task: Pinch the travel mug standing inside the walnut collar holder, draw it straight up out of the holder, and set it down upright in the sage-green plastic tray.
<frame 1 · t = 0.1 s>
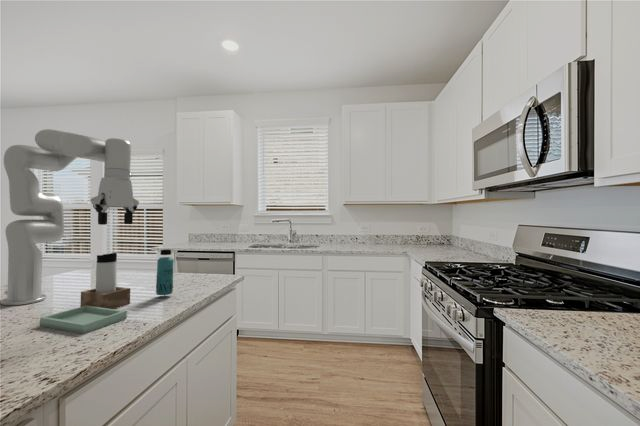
hand: (115, 224, 107), 31 cm above the worktop, tool pointing down, fingers open, 9 cm apart
tray: (85, 322, 98), on the worktop
collar holder: (105, 306, 115), on the worktop
travel mug: (105, 306, 115), resting in collar holder
beverage bottle: (164, 297, 130), on the worktop
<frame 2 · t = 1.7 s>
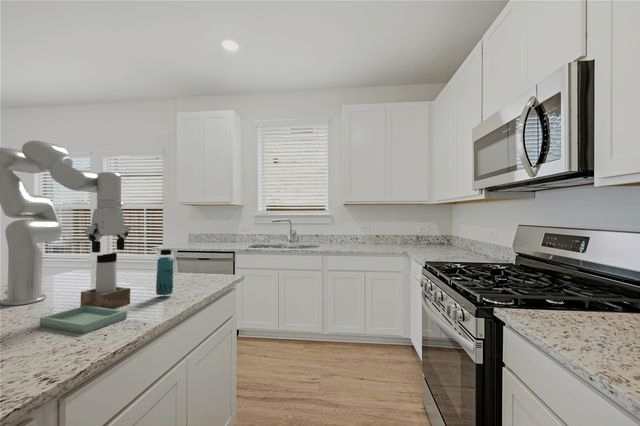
hand: (108, 250, 115), 21 cm above the worktop, tool pointing down, fingers open, 9 cm apart
nothing on the worktop moved.
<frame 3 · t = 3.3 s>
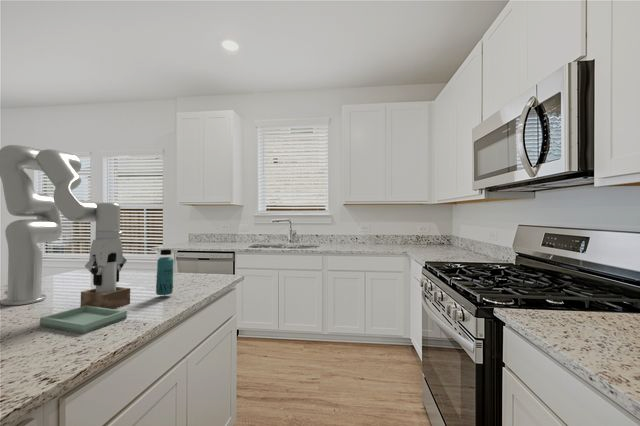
hand: (106, 282, 115), 9 cm above the worktop, tool pointing down, fingers closed on travel mug, 6 cm apart
travel mug: (105, 306, 115), resting in collar holder, touching gripper
everything else where it was.
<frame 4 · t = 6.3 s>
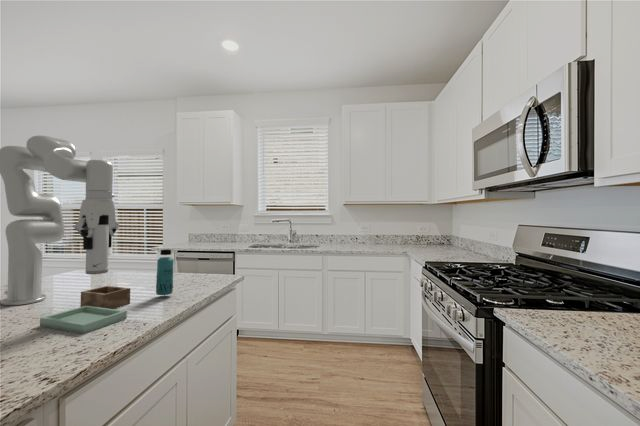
hand: (97, 247, 106), 23 cm above the worktop, tool pointing down, fingers closed on travel mug, 6 cm apart
travel mug: (97, 273, 106), point 14 cm above the worktop, touching gripper
everything else where it was.
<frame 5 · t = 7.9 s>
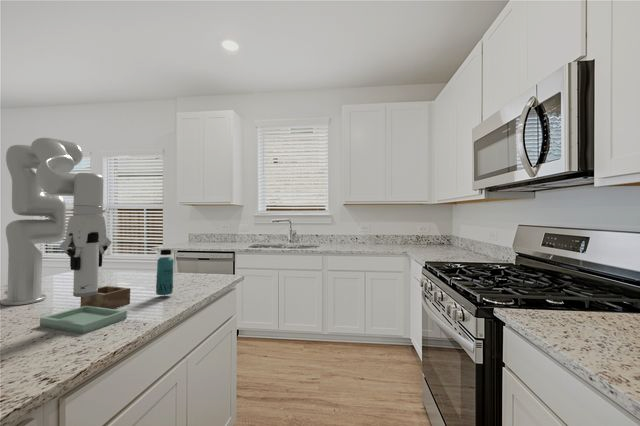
hand: (86, 267, 98), 17 cm above the worktop, tool pointing down, fingers closed on travel mug, 6 cm apart
travel mug: (86, 295, 98), point 9 cm above the worktop, touching gripper
everything else where it was.
when the fingers open (11 cm above the worktop, at t = 9.4 s): travel mug drops 2 cm, resting on tray.
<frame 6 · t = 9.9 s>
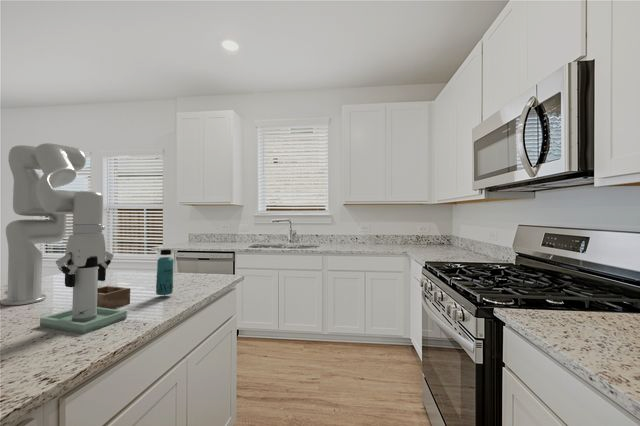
hand: (86, 283, 98), 12 cm above the worktop, tool pointing down, fingers open, 9 cm apart
travel mug: (84, 319, 98), point 1 cm above the worktop, touching tray
everything else where it was.
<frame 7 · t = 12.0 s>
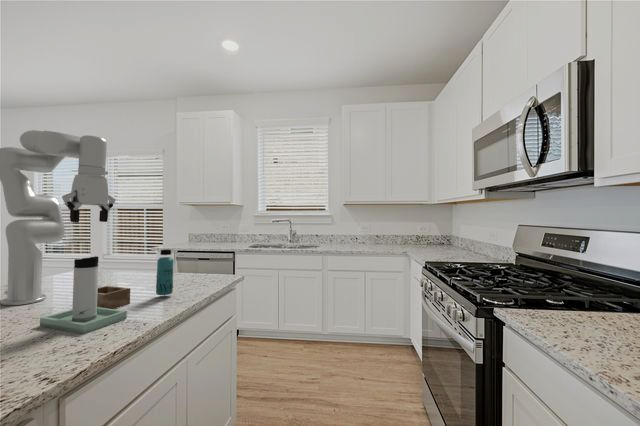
hand: (89, 221, 106), 32 cm above the worktop, tool pointing down, fingers open, 9 cm apart
nothing on the worktop moved.
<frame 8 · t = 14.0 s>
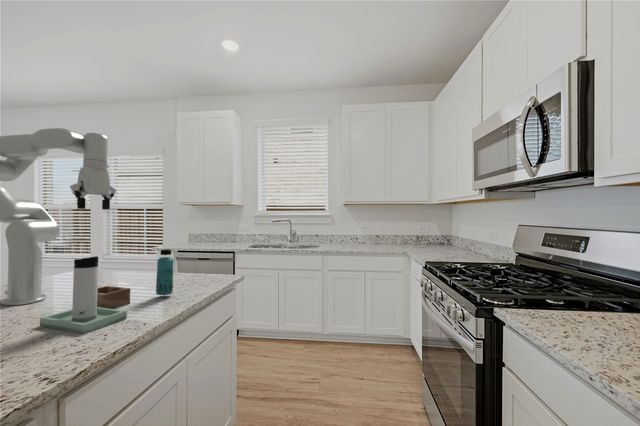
hand: (94, 209, 120), 36 cm above the worktop, tool pointing down, fingers open, 9 cm apart
nothing on the worktop moved.
at the end: travel mug inside the target area on the tray (0.1 cm from its centre), point 0.8 cm above the tray's base; travel mug tilted 0°; the gripper is holding nothing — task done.
